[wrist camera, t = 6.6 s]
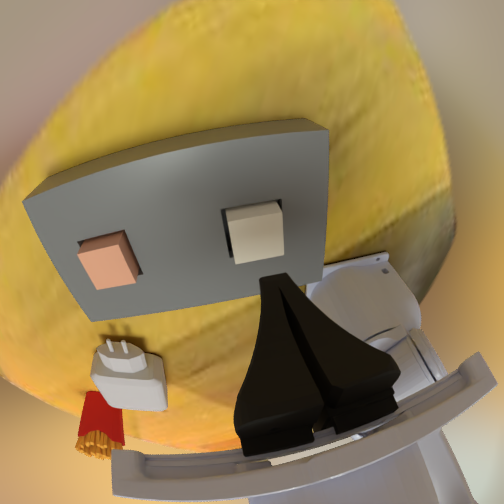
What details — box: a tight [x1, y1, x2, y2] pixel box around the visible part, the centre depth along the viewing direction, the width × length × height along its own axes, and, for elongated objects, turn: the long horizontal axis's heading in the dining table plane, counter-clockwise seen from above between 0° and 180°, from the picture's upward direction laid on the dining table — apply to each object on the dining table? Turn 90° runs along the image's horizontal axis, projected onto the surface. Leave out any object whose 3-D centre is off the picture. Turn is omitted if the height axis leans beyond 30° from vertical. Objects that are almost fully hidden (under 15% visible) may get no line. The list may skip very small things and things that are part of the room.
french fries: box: [75, 391, 125, 460], centre depth 32 cm, size 8×4×12 cm, turn 81°
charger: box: [90, 339, 168, 411], centre depth 29 cm, size 5×9×15 cm
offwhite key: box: [225, 200, 284, 264], centre depth 18 cm, size 3×3×3 cm
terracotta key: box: [77, 230, 140, 290], centre depth 17 cm, size 3×3×3 cm
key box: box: [22, 118, 329, 322], centre depth 19 cm, size 20×12×4 cm, turn 96°
